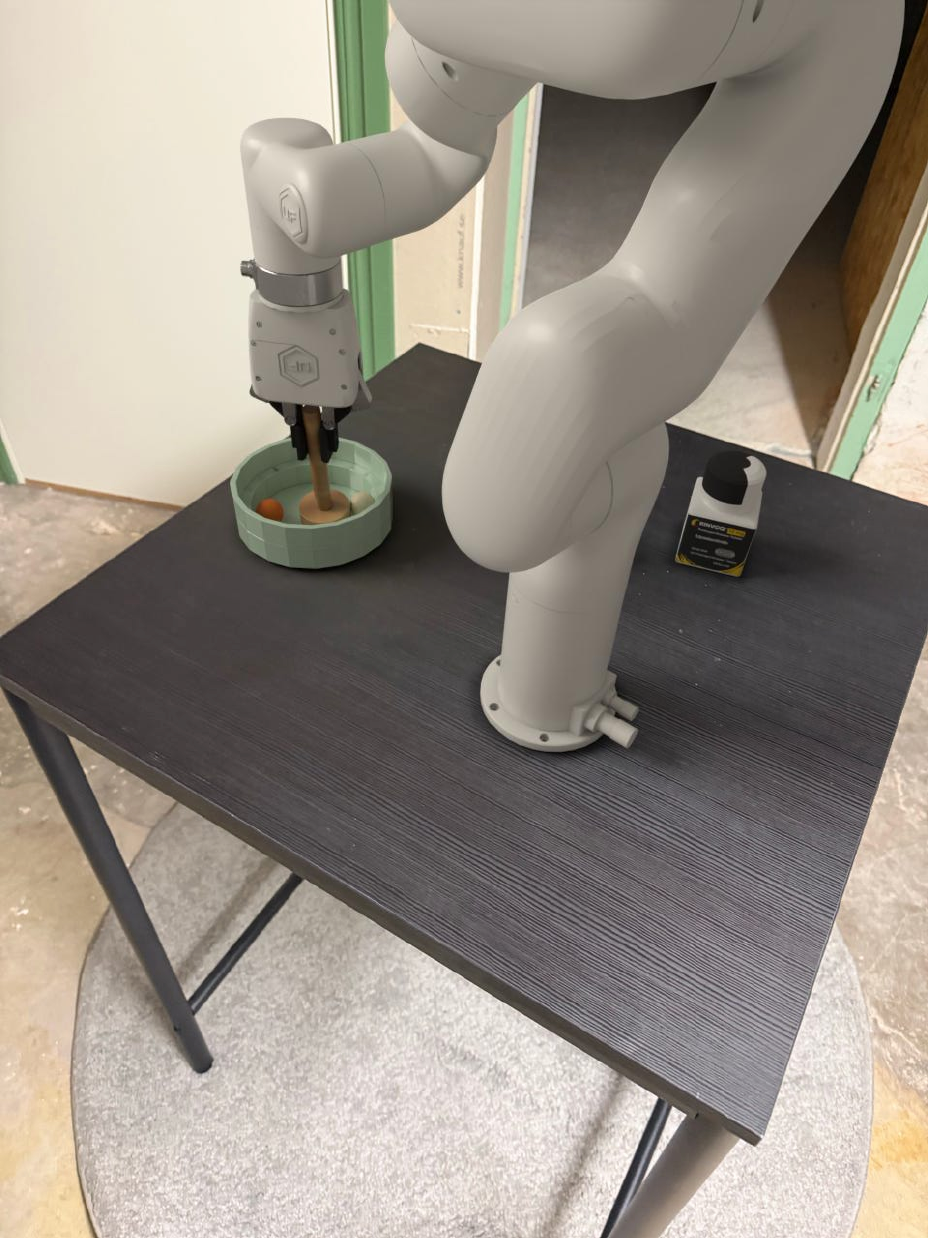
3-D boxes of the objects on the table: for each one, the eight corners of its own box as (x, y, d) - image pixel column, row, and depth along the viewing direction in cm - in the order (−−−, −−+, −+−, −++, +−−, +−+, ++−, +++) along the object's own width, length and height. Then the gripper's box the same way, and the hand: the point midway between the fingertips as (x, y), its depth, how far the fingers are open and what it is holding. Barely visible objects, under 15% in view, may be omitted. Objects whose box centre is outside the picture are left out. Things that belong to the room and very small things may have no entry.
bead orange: (290, 520, 97) (287, 504, 95) (270, 536, 96) (266, 520, 94) (273, 504, 98) (269, 488, 96) (252, 519, 97) (248, 504, 94)
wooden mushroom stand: (360, 524, 97) (349, 414, 85) (314, 543, 95) (297, 433, 83) (336, 495, 100) (323, 385, 88) (292, 512, 98) (272, 402, 86)
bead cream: (376, 520, 99) (384, 498, 97) (359, 526, 97) (367, 504, 95) (357, 505, 100) (365, 484, 98) (340, 511, 98) (348, 489, 96)
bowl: (423, 517, 100) (423, 474, 96) (316, 595, 90) (311, 550, 86) (315, 461, 107) (311, 419, 103) (206, 527, 97) (196, 483, 93)
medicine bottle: (674, 563, 96) (699, 472, 87) (683, 525, 101) (708, 436, 92) (739, 578, 94) (771, 488, 86) (745, 540, 99) (776, 451, 91)
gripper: (199, 288, 75) (230, 466, 88) (378, 305, 74) (384, 483, 87) (227, 254, 81) (253, 427, 93) (395, 270, 79) (398, 442, 92)
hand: (316, 453), depth 90 cm, fingers closed on wooden mushroom stand
